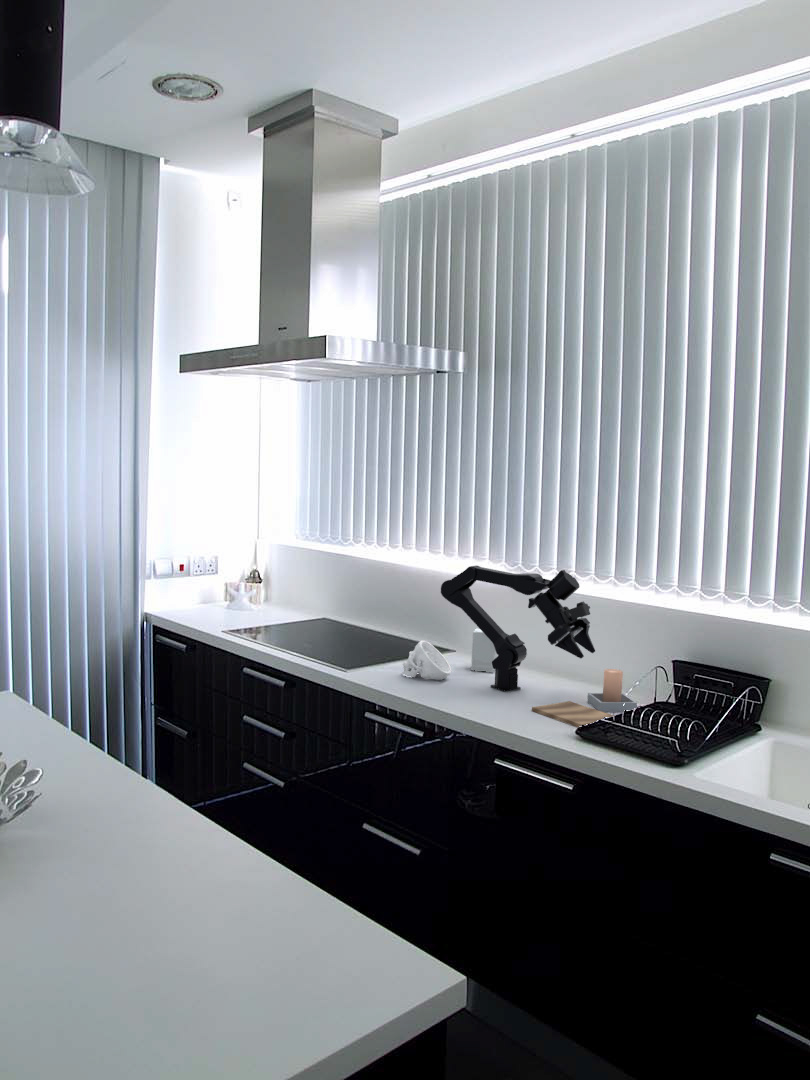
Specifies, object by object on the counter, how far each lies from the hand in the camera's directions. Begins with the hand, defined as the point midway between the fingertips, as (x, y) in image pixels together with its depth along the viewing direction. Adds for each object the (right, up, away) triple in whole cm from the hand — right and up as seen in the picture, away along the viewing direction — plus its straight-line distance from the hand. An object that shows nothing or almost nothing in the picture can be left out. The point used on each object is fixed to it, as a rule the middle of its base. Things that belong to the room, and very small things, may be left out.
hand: (588, 654), depth 255 cm
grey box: (+6, -14, -3) cm, 15 cm away
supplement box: (-26, -10, +37) cm, 46 cm away
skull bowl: (-44, -10, +24) cm, 51 cm away
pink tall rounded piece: (+6, -14, -3) cm, 15 cm away
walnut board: (-6, -14, -13) cm, 21 cm away
